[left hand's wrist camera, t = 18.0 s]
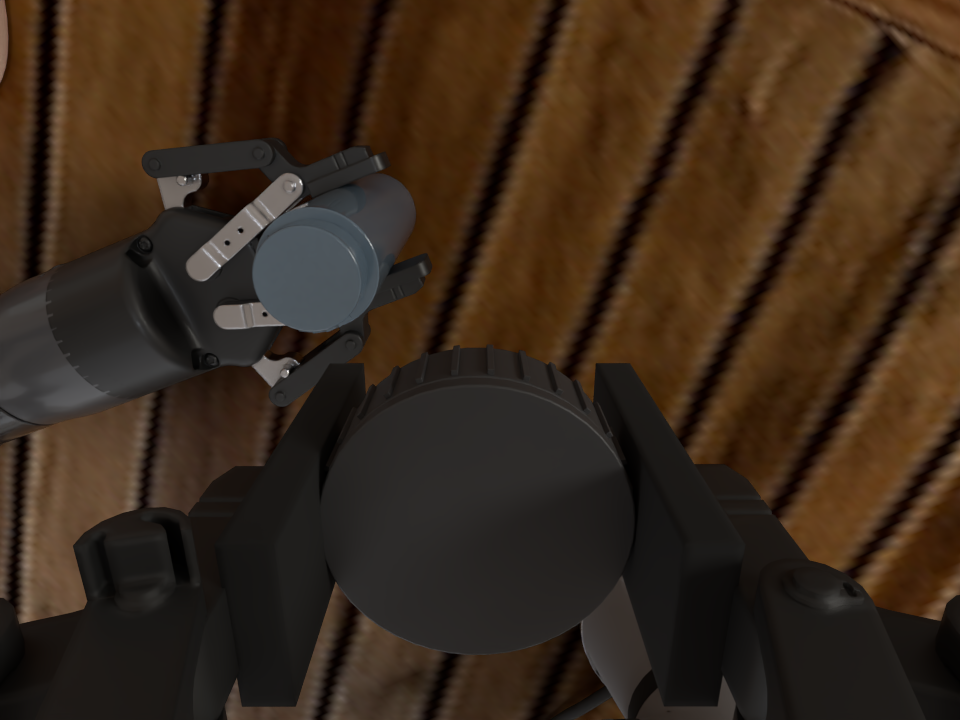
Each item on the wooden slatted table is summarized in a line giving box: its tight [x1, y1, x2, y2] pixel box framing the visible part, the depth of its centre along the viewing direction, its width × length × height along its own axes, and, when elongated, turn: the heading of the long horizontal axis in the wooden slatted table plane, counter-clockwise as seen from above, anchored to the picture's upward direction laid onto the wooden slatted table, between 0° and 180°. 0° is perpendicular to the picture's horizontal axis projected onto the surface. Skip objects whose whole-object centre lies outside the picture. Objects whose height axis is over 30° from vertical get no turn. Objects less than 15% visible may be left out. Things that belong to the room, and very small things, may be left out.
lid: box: [320, 345, 636, 655], centre depth 11 cm, size 5×5×2 cm
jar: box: [252, 173, 416, 333], centre depth 29 cm, size 5×5×16 cm
